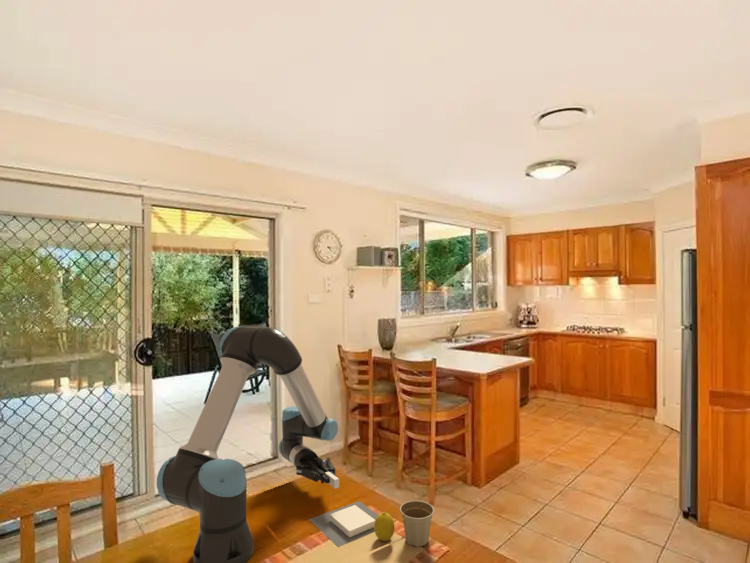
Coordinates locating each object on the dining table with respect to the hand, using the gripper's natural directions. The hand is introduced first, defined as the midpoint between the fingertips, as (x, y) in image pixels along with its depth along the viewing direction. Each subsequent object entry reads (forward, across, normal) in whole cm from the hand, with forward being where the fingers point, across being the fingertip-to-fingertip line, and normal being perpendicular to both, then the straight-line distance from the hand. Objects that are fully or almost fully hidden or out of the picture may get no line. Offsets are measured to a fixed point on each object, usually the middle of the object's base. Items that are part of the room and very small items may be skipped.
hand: (337, 483), depth 134 cm
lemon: (+20, -3, -9) cm, 23 cm away
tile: (+3, 0, -8) cm, 8 cm away
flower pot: (+25, -11, -10) cm, 29 cm away
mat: (+7, 0, -9) cm, 12 cm away
